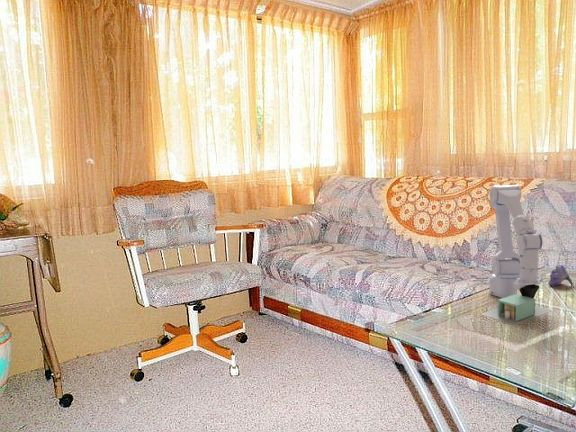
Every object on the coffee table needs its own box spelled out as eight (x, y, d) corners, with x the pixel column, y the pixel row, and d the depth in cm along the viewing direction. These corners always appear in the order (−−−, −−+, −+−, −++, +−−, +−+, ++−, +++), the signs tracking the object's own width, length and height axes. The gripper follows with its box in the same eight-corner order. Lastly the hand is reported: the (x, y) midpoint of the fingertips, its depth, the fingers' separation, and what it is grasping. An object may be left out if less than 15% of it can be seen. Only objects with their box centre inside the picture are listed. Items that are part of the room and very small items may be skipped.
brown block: (504, 316, 161) (504, 303, 160) (510, 314, 162) (511, 301, 162) (514, 319, 157) (514, 306, 157) (520, 316, 159) (520, 304, 159)
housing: (497, 314, 161) (497, 299, 161) (515, 308, 167) (515, 293, 166) (517, 320, 155) (517, 305, 155) (534, 314, 160) (535, 299, 160)
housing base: (480, 317, 164) (480, 307, 163) (517, 304, 175) (517, 294, 174) (515, 328, 153) (515, 317, 152) (552, 314, 164) (552, 303, 163)
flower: (577, 268, 195) (554, 258, 196) (580, 281, 188) (556, 271, 189) (563, 282, 201) (541, 272, 202) (565, 296, 194) (542, 285, 195)
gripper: (527, 273, 155) (526, 312, 157) (552, 266, 162) (550, 303, 164) (507, 269, 161) (507, 307, 163) (532, 262, 168) (531, 298, 170)
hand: (527, 305), depth 164 cm, fingers closed
